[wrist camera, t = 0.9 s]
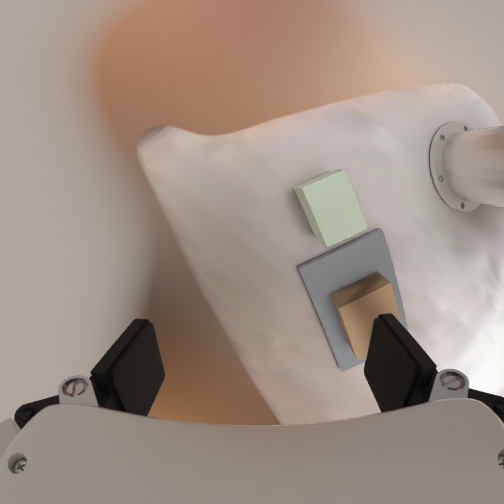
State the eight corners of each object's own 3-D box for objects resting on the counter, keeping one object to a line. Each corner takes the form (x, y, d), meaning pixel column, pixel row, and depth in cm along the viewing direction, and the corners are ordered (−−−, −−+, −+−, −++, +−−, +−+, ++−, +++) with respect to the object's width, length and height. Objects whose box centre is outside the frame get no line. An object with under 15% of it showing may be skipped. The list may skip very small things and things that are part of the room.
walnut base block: (377, 271, 30) (391, 282, 26) (390, 321, 32) (403, 336, 28) (329, 294, 31) (338, 308, 27) (348, 343, 33) (356, 360, 29)
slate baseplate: (378, 228, 30) (382, 229, 29) (406, 334, 34) (408, 338, 33) (297, 266, 31) (298, 269, 30) (339, 368, 35) (341, 372, 34)
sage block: (328, 171, 29) (345, 169, 23) (348, 219, 30) (368, 228, 24) (293, 187, 29) (301, 188, 24) (314, 235, 31) (327, 247, 25)
